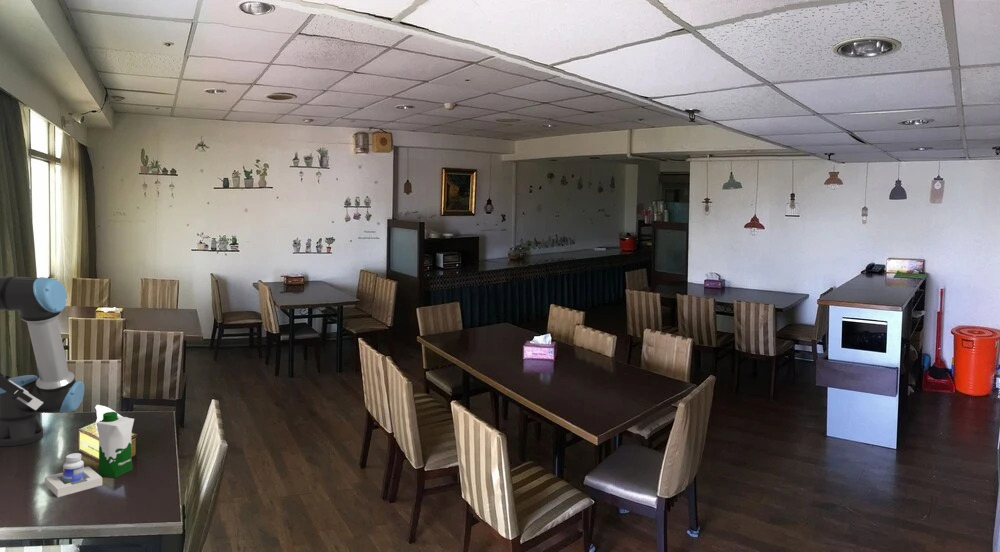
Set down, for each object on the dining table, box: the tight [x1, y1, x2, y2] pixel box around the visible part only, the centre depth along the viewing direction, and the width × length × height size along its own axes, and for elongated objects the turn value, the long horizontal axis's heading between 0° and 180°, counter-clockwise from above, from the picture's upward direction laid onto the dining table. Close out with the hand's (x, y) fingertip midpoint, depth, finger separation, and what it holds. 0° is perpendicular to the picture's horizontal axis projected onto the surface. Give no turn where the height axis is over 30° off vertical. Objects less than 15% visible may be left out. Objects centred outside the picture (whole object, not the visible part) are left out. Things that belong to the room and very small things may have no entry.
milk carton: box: [95, 411, 135, 479], centre depth 202 cm, size 9×9×20 cm
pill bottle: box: [62, 452, 85, 484], centre depth 192 cm, size 5×5×10 cm
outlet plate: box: [44, 466, 103, 498], centre depth 192 cm, size 12×12×3 cm
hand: (32, 400), depth 181 cm, fingers open, 13 cm apart
